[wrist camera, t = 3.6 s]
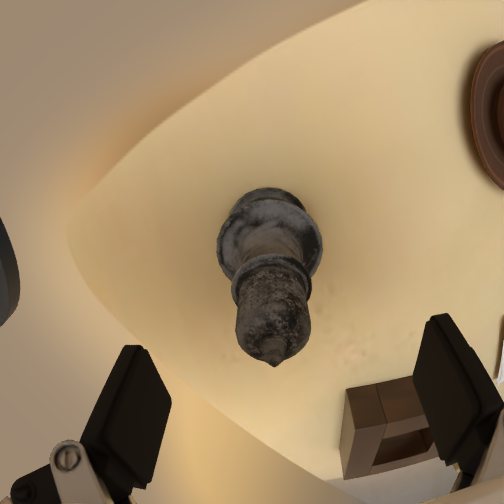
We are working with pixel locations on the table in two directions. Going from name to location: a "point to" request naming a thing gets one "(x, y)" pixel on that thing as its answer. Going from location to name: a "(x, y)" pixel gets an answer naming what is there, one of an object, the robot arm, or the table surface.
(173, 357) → the table surface
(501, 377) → the dessert
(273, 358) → the chess piece
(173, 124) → the table surface
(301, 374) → the table surface
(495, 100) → the cup and saucer
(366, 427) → the holder
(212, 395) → the table surface
